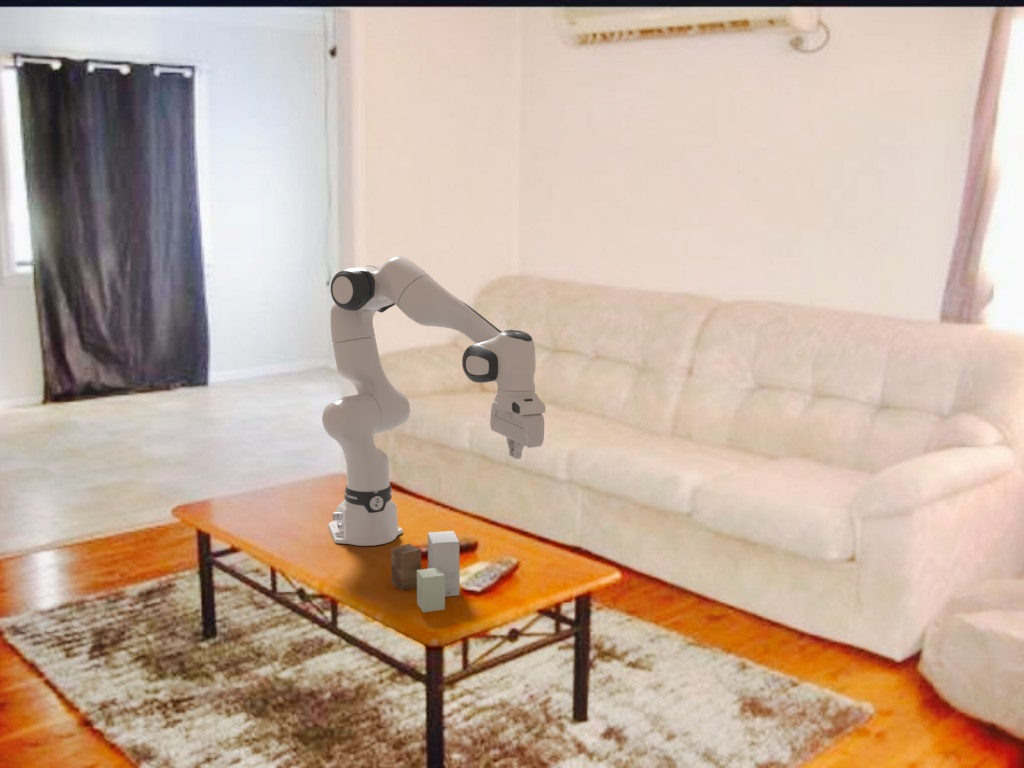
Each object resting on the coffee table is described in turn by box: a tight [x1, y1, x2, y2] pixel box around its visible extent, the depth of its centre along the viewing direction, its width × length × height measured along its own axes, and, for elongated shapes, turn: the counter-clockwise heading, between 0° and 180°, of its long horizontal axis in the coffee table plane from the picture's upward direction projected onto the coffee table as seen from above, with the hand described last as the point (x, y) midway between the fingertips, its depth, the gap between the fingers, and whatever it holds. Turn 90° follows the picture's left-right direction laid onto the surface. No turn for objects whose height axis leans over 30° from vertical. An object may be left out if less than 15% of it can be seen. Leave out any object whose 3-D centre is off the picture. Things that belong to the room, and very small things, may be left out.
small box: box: [427, 530, 461, 598], centre depth 238 cm, size 8×6×13 cm
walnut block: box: [390, 543, 422, 592], centre depth 241 cm, size 5×5×9 cm
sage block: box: [416, 567, 446, 613], centre depth 229 cm, size 5×5×8 cm
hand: (515, 457), depth 244 cm, fingers closed
